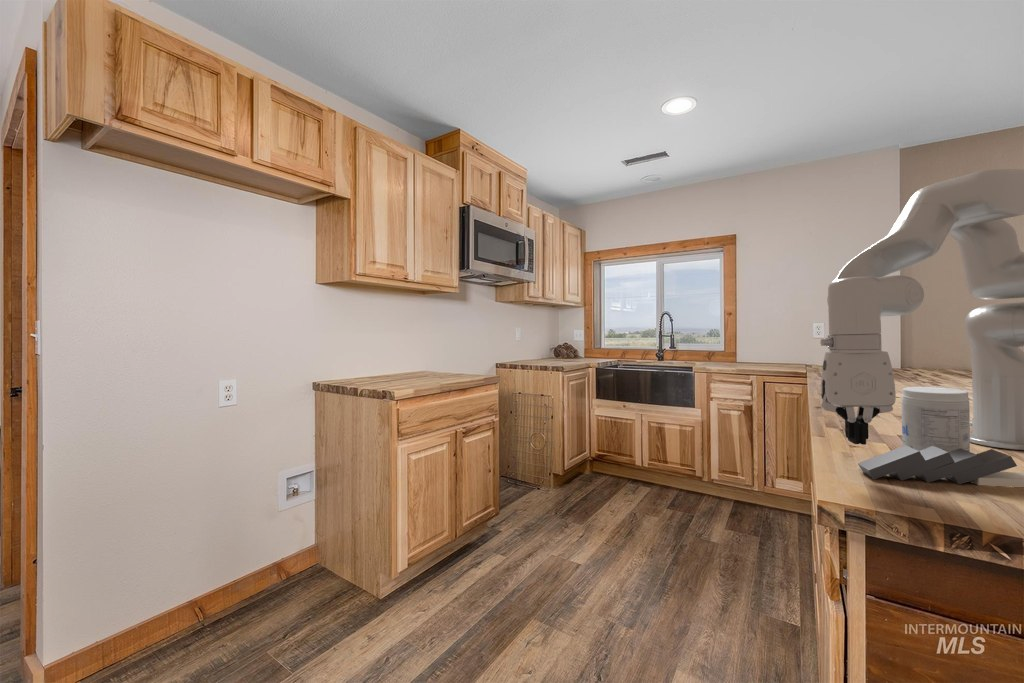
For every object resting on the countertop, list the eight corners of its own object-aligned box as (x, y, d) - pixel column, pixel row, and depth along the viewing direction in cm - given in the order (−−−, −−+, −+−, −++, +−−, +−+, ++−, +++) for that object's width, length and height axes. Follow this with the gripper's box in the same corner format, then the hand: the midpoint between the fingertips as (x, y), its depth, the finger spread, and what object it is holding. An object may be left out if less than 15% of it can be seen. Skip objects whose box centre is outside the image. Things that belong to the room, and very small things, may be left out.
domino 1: (857, 463, 80) (905, 445, 78) (862, 472, 80) (911, 453, 78) (868, 470, 76) (919, 451, 74) (874, 479, 76) (925, 460, 74)
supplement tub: (897, 454, 90) (896, 385, 90) (960, 459, 85) (958, 387, 85) (909, 466, 82) (907, 391, 82) (979, 473, 77) (977, 393, 77)
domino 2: (883, 464, 79) (932, 445, 77) (888, 473, 79) (938, 454, 76) (895, 471, 75) (948, 452, 73) (901, 480, 75) (954, 461, 72)
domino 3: (908, 466, 78) (960, 448, 75) (913, 475, 77) (965, 457, 75) (922, 473, 74) (977, 454, 71) (928, 482, 73) (983, 464, 71)
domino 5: (960, 469, 76) (1021, 472, 73) (960, 479, 76) (1021, 482, 73) (978, 477, 72) (1043, 480, 69) (978, 487, 72) (1044, 491, 69)
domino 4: (937, 466, 76) (991, 449, 74) (943, 476, 76) (997, 458, 74) (953, 474, 72) (1010, 456, 70) (959, 484, 72) (1017, 466, 70)
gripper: (815, 346, 77) (817, 446, 77) (917, 343, 72) (919, 450, 72) (800, 344, 84) (803, 436, 84) (892, 342, 79) (894, 439, 80)
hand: (856, 442), depth 78 cm, fingers closed
